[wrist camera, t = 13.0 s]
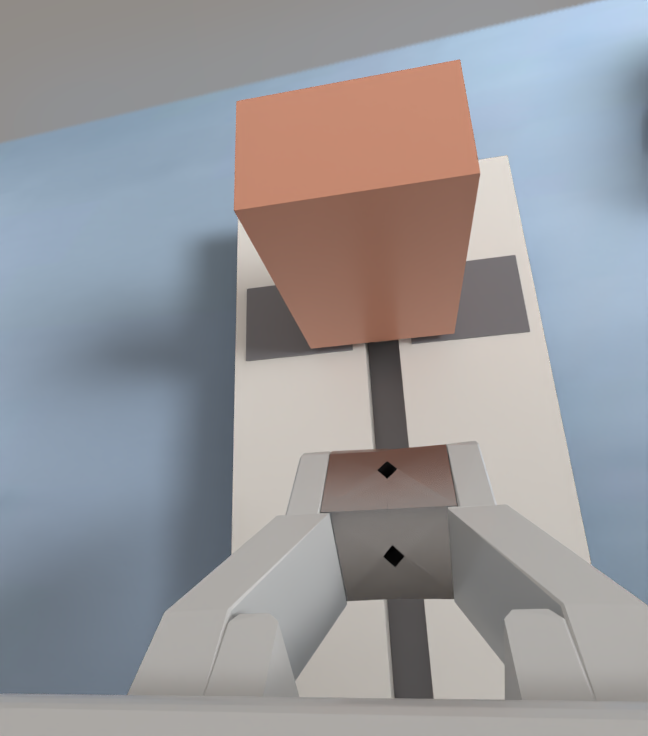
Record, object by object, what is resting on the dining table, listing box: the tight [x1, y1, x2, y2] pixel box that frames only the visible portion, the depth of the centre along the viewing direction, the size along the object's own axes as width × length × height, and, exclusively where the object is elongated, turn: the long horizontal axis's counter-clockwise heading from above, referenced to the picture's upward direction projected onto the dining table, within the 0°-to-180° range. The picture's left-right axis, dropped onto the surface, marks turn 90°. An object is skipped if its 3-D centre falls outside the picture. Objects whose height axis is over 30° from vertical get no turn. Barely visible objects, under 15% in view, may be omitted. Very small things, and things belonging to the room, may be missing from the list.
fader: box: [234, 60, 480, 349], centre depth 15 cm, size 5×3×10 cm, turn 92°
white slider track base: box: [231, 155, 591, 700], centre depth 17 cm, size 11×32×3 cm, turn 3°
